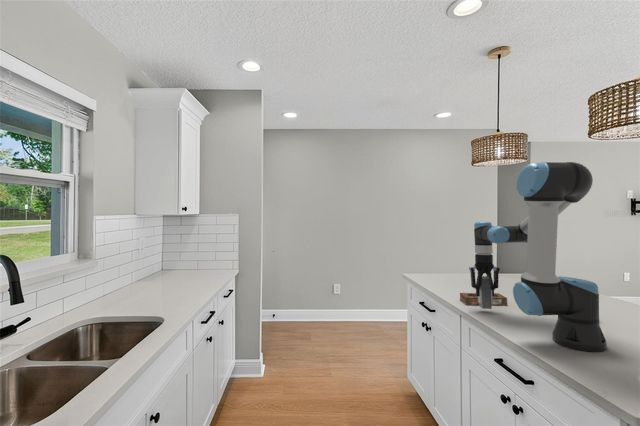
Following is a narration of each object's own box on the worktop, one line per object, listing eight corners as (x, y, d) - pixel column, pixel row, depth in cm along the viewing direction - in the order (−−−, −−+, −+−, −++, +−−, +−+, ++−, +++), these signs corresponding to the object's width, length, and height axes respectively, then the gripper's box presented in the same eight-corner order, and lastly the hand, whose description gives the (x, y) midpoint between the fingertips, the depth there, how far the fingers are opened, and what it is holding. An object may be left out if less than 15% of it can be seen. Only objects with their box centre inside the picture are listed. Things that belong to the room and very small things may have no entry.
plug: (491, 308, 152) (490, 277, 152) (482, 308, 152) (481, 277, 153) (488, 306, 156) (487, 275, 156) (479, 306, 156) (478, 275, 157)
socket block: (498, 300, 174) (498, 293, 174) (507, 305, 164) (507, 298, 164) (460, 300, 176) (459, 292, 176) (466, 305, 166) (466, 297, 166)
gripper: (499, 253, 158) (500, 301, 157) (462, 253, 159) (464, 300, 159) (506, 254, 150) (507, 305, 149) (467, 254, 152) (469, 304, 151)
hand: (485, 302), depth 154 cm, fingers closed on plug, 4 cm apart
